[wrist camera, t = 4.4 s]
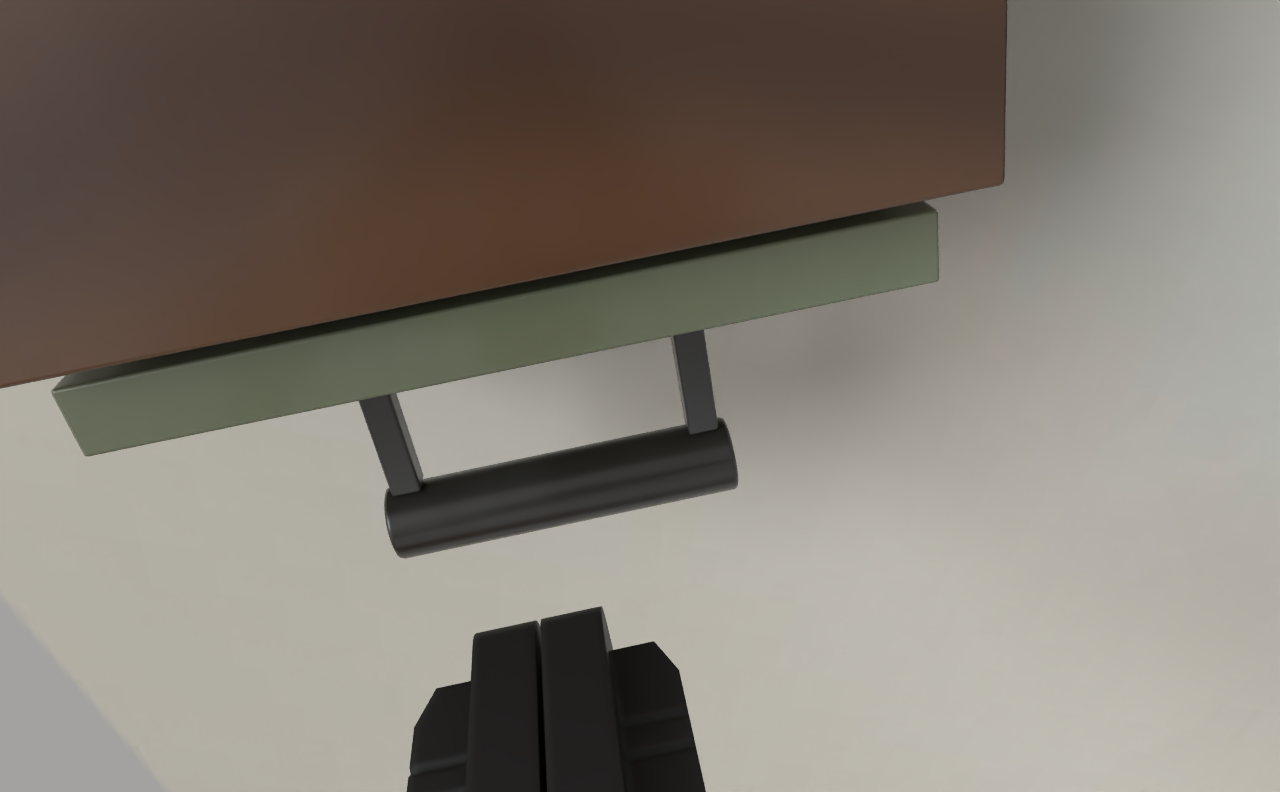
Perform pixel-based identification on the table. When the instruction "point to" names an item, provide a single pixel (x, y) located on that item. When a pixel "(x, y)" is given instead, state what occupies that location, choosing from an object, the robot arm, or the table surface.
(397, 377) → the drawer
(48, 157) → the cabinet
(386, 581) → the table surface
